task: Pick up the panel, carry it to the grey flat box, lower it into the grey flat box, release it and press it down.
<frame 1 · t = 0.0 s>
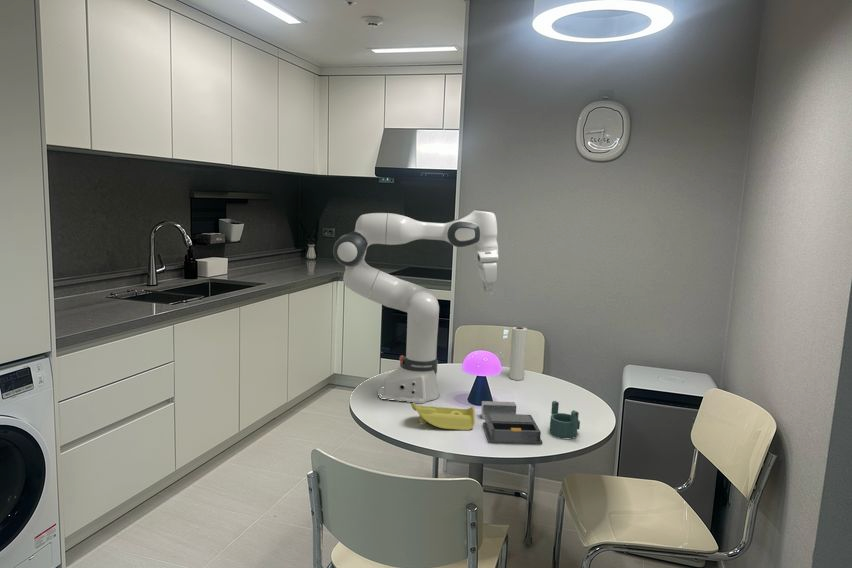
hand: (487, 293, 200), 39 cm above the table, tool pointing down, fingers open, 8 cm apart
paper towel roll: (517, 378, 230), on the table
bracket: (564, 434, 174), on the table
panel: (498, 417, 185), on the table
plastic component: (442, 423, 178), on the table
grey flat box: (511, 434, 171), on the table
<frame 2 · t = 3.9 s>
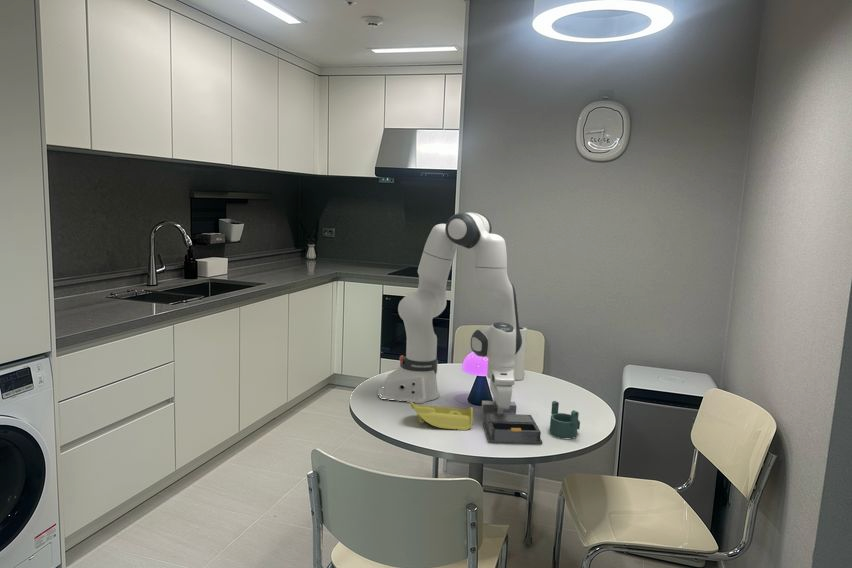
hand: (498, 412, 185), 2 cm above the table, tool pointing down, fingers closed on panel, 4 cm apart
panel: (498, 417, 185), on the table, touching gripper
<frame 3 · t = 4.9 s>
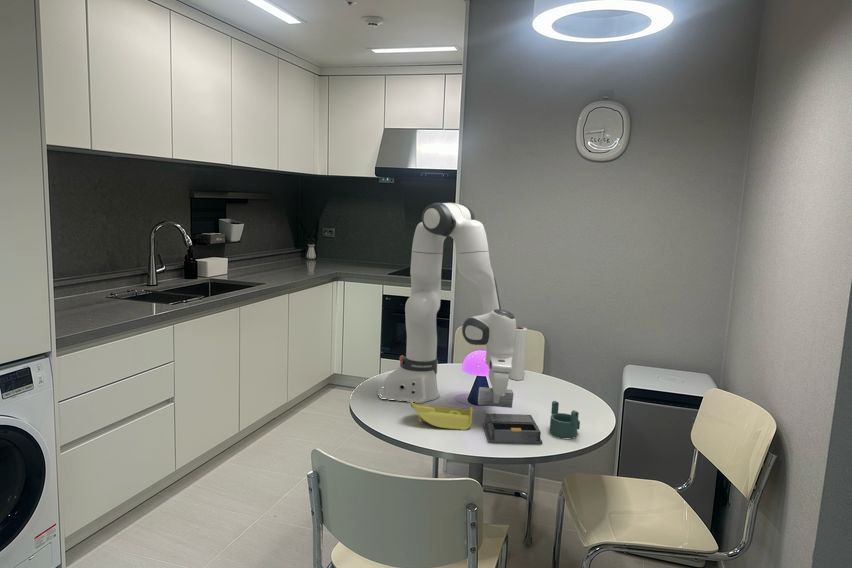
hand: (495, 399, 184), 6 cm above the table, tool pointing down, fingers closed on panel, 4 cm apart
panel: (494, 404, 184), point 4 cm above the table, touching gripper
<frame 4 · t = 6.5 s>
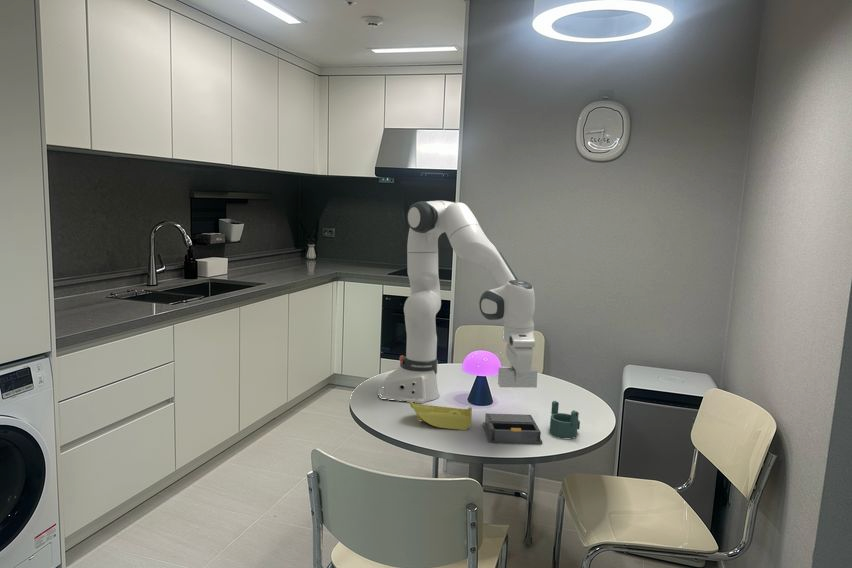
hand: (516, 380, 167), 18 cm above the table, tool pointing down, fingers closed on panel, 4 cm apart
panel: (517, 385, 167), point 16 cm above the table, touching gripper
when the fingers open (4 cm above the table, at t = 9.2 s): panel drops 2 cm, resting on grey flat box.
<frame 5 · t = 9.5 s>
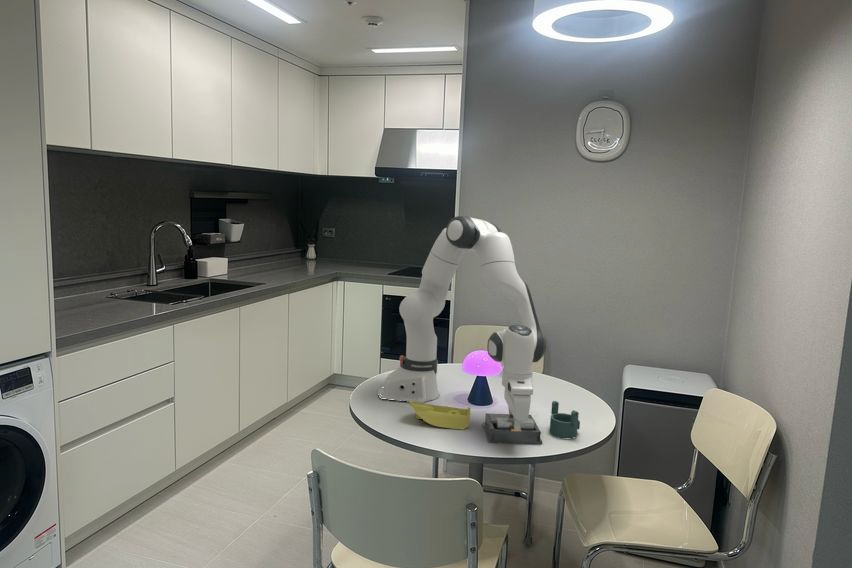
hand: (514, 424, 167), 4 cm above the table, tool pointing down, fingers open, 7 cm apart
panel: (514, 436, 168), point 1 cm above the table, touching grey flat box
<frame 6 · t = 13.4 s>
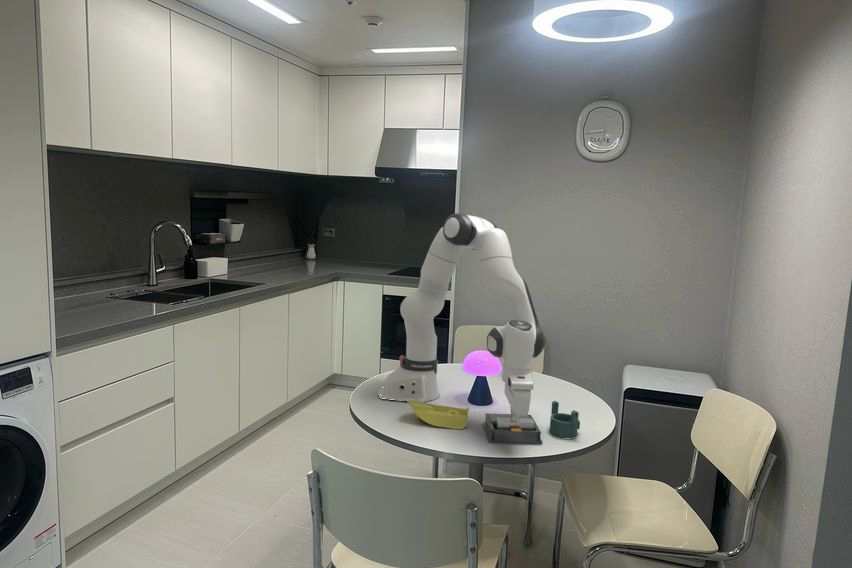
hand: (514, 419, 167), 6 cm above the table, tool pointing down, fingers closed
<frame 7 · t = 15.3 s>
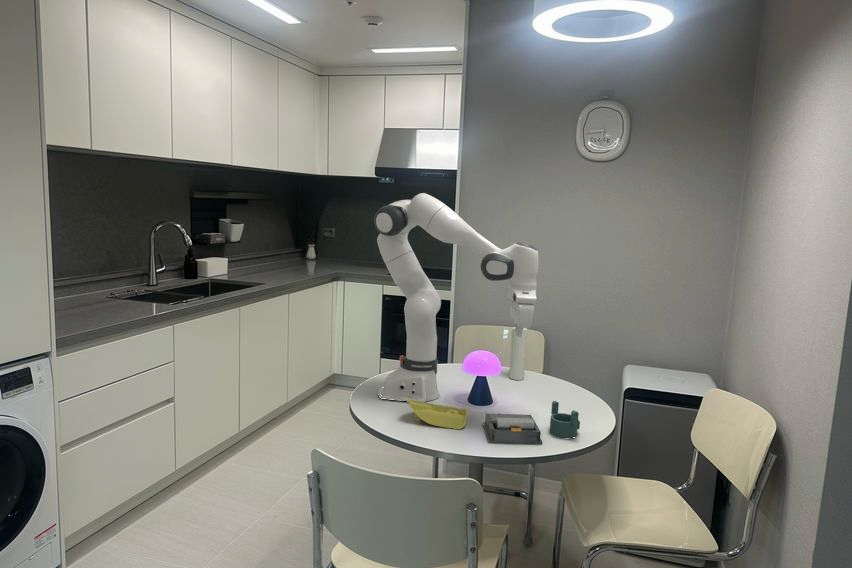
hand: (518, 335, 180), 28 cm above the table, tool pointing down, fingers closed
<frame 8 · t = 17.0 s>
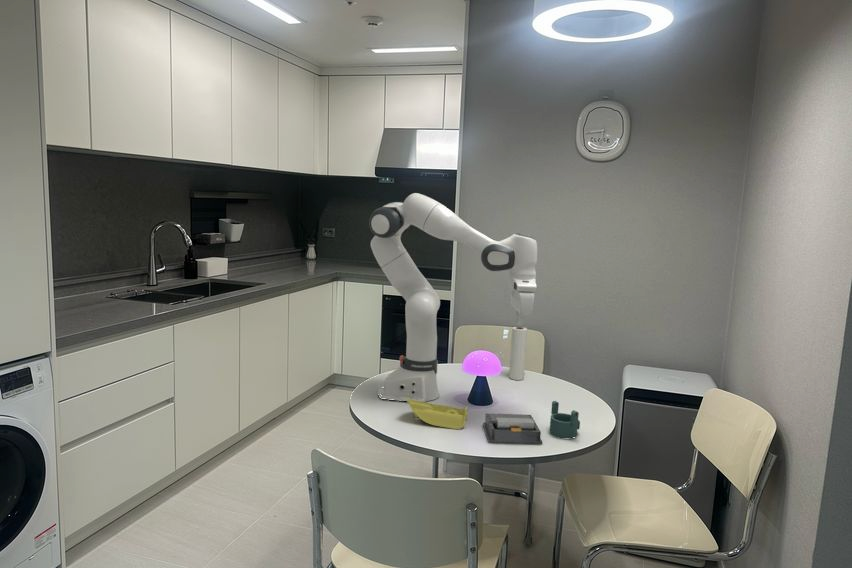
hand: (519, 324, 185), 31 cm above the table, tool pointing down, fingers closed
at the end: panel 0.2 cm from the target spot on the grey flat box, point 0.8 cm above the grey flat box's base; panel tilted 0°; the gripper is holding nothing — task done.
